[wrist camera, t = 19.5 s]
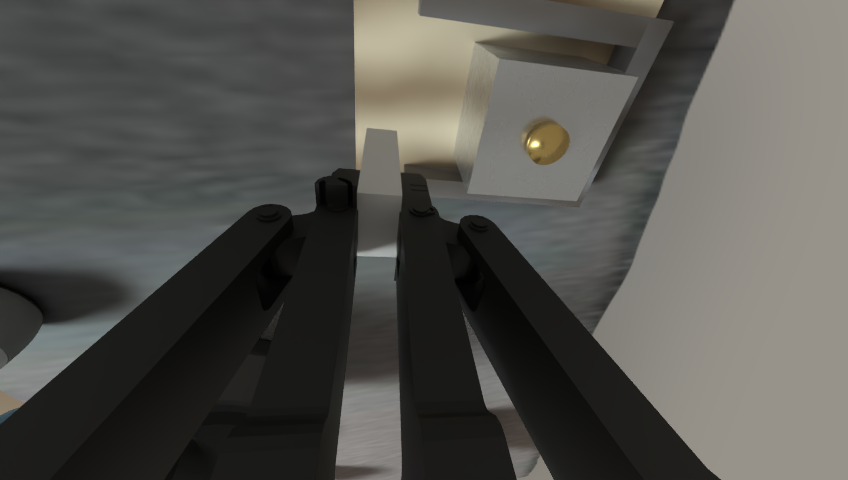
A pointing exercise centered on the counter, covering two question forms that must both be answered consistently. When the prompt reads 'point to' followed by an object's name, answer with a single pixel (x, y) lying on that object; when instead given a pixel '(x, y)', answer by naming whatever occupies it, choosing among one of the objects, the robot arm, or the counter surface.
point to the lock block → (535, 121)
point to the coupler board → (450, 61)
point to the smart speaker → (16, 323)
